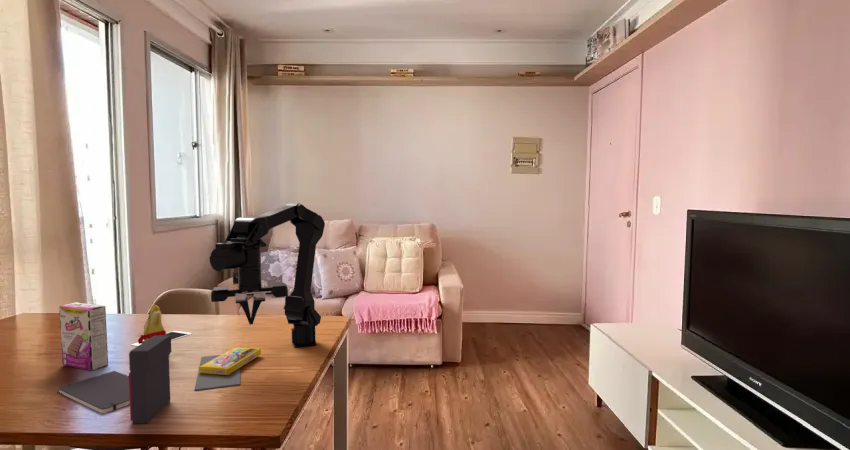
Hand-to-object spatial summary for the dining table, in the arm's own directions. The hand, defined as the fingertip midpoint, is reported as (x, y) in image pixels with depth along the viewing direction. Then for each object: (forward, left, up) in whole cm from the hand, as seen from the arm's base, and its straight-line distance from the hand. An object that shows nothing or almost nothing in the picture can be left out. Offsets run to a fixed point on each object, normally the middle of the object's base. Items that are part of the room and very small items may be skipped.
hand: (251, 324), depth 131 cm
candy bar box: (+42, -16, -12) cm, 46 cm away
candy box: (+1, -1, -10) cm, 10 cm away
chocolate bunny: (+26, -16, -12) cm, 32 cm away
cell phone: (+26, -35, -12) cm, 45 cm away
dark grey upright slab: (+21, +21, -12) cm, 32 cm away
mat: (+8, 0, -12) cm, 14 cm away
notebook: (+32, +6, -12) cm, 34 cm away
